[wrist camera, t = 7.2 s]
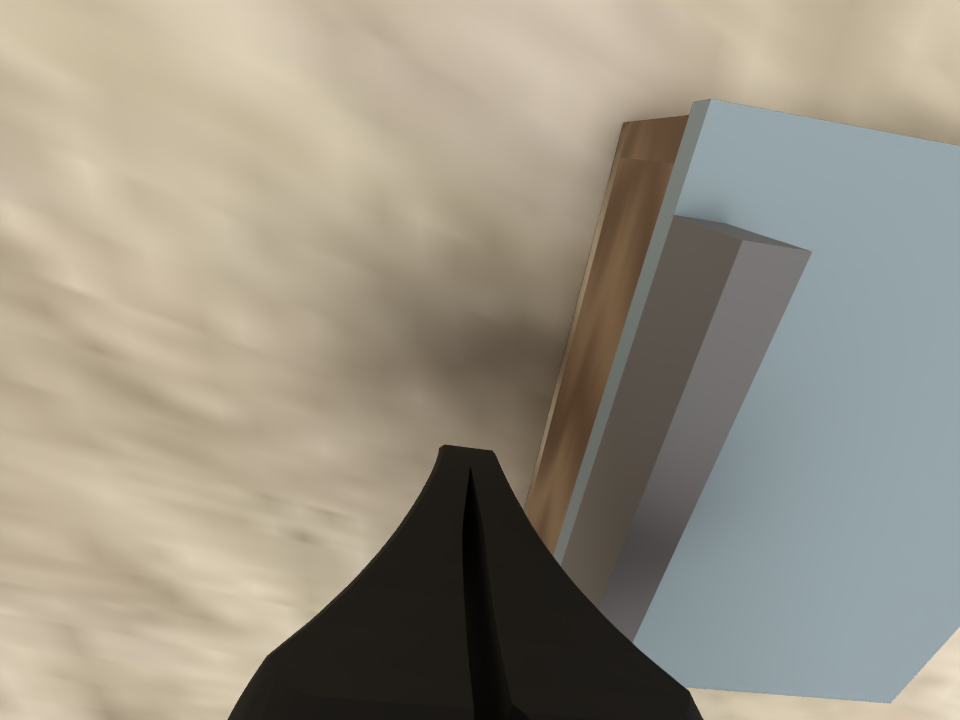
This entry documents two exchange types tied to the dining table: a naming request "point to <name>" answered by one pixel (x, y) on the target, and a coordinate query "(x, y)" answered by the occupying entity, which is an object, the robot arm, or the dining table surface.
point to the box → (601, 312)
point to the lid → (784, 415)
